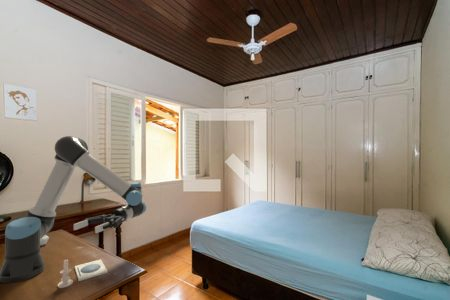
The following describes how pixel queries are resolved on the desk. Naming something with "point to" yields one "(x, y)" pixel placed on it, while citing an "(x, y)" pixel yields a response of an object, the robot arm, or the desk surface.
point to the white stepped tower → (65, 276)
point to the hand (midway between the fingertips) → (84, 228)
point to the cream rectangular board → (90, 270)
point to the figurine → (44, 240)
